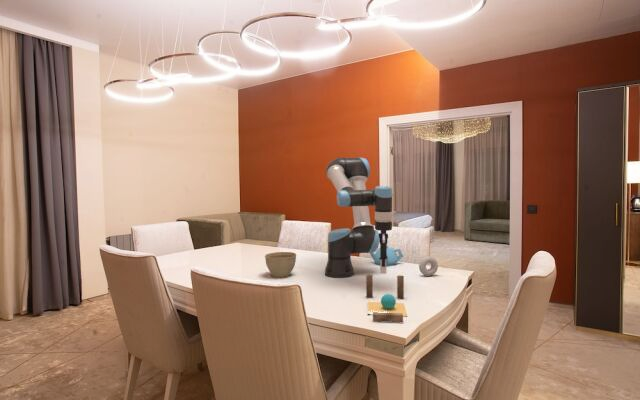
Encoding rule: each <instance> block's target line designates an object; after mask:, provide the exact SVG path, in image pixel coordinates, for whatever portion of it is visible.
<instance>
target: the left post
mask: <svg viewBox="0 0 640 400" xmlns="http://www.w3.org/2000/svg"><path fill="white" fill-rule="evenodd" d="M365 278H366V279H365V280H366V281H365V282H366V283H365V284H366V285H365V288H366V290H365V292H366V293H365V294H366V296H365V297H366V298H367V299H372V298H373V297H374V293H373V291H374V290H373V287H374V285H373V283H374V282H373V275H372V274H366V275H365Z"/></svg>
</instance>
